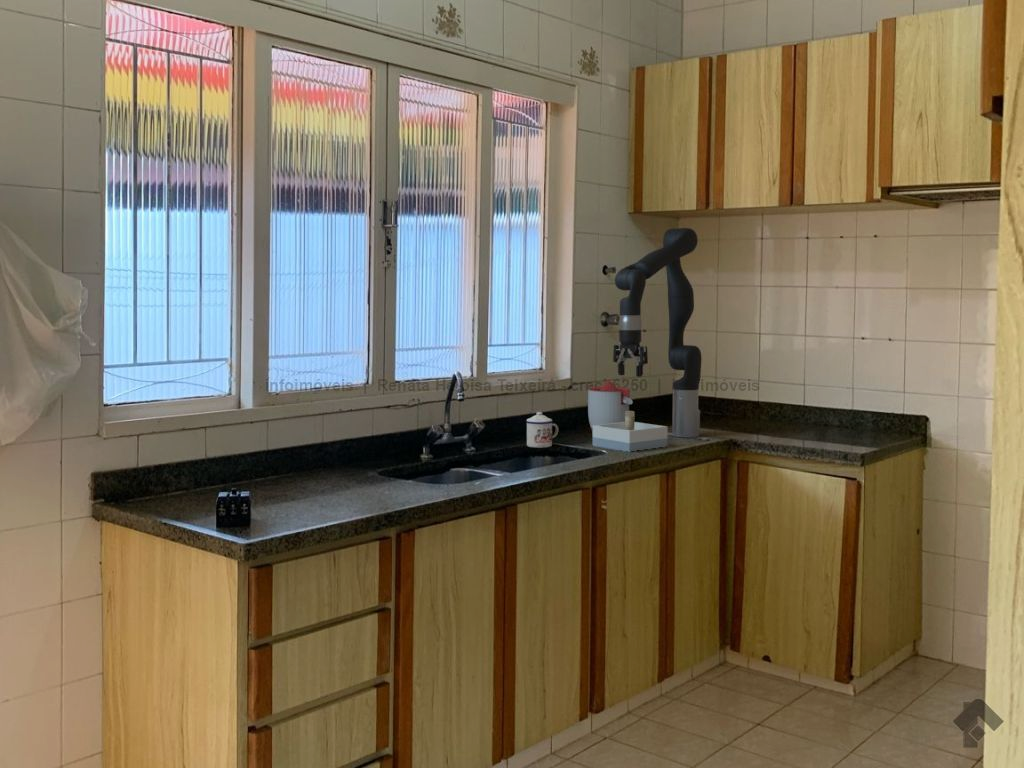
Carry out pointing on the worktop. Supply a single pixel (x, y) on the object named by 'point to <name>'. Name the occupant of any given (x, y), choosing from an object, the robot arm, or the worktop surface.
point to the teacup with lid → (540, 431)
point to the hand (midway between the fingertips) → (630, 375)
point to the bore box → (630, 436)
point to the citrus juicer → (607, 404)
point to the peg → (629, 420)
